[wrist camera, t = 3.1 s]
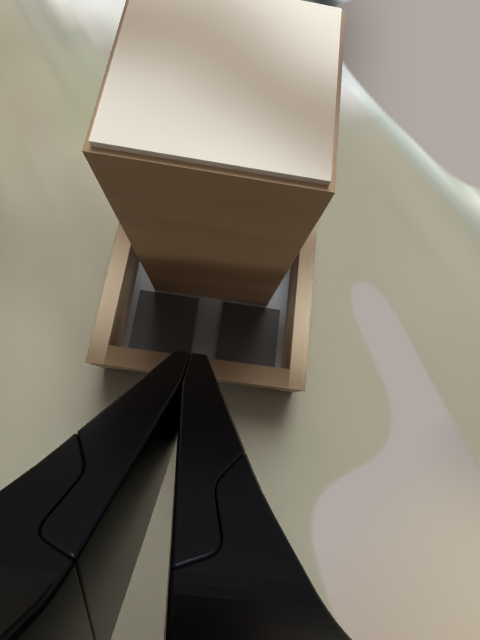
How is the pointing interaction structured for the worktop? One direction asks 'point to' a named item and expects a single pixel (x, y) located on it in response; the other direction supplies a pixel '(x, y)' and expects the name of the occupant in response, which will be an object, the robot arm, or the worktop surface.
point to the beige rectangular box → (219, 138)
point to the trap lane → (205, 325)
